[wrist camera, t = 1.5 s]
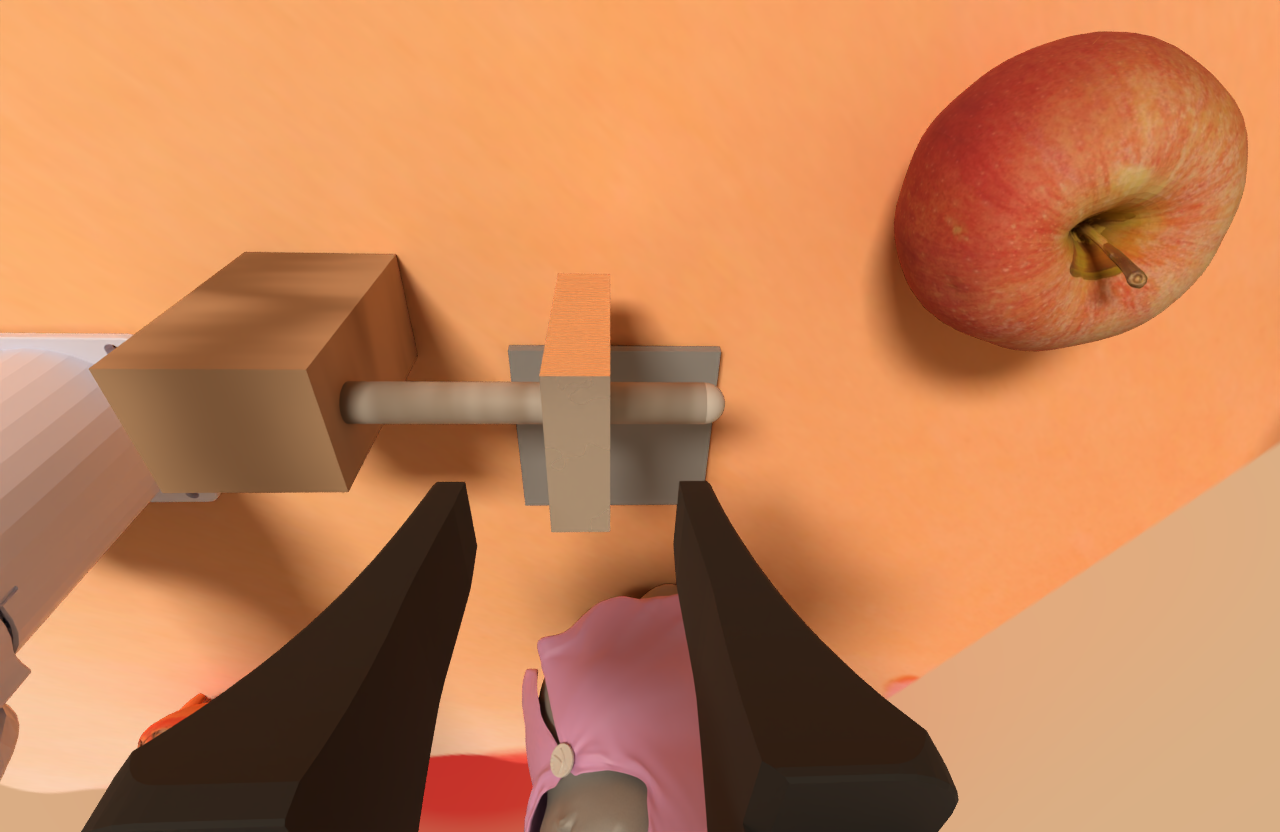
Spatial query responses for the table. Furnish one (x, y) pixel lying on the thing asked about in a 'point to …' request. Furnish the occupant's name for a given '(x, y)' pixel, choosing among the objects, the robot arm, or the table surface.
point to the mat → (630, 426)
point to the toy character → (616, 723)
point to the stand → (310, 379)
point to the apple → (1071, 192)
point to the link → (578, 404)
